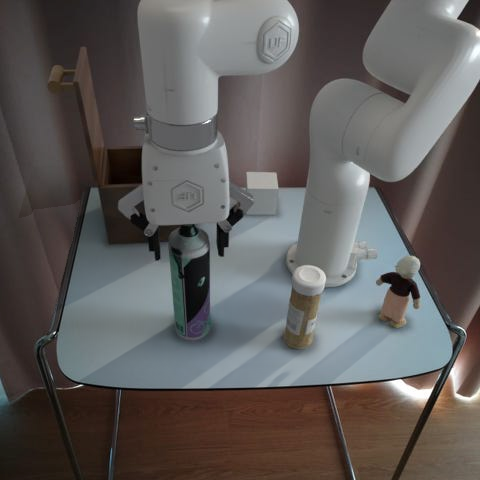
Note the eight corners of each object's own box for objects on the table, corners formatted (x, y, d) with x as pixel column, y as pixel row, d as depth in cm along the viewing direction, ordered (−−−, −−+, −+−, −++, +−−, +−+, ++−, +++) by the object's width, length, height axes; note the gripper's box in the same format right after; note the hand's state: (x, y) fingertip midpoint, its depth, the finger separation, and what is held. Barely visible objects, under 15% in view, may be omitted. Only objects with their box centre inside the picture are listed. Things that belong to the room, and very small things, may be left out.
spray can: (205, 343, 76) (203, 239, 61) (171, 337, 76) (160, 232, 62) (213, 318, 79) (214, 214, 65) (181, 312, 80) (173, 208, 65)
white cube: (246, 214, 99) (247, 188, 95) (245, 197, 103) (246, 171, 99) (276, 215, 99) (278, 188, 95) (273, 198, 103) (276, 172, 99)
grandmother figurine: (415, 320, 81) (441, 260, 71) (407, 334, 78) (433, 275, 69) (371, 301, 83) (390, 241, 74) (362, 315, 81) (381, 255, 72)
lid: (85, 46, 79) (51, 47, 78) (78, 81, 70) (39, 82, 69) (103, 144, 91) (74, 145, 91) (99, 185, 82) (66, 187, 81)
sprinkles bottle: (315, 347, 76) (331, 283, 66) (287, 352, 75) (298, 288, 65) (306, 326, 79) (319, 261, 69) (279, 330, 78) (288, 265, 68)
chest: (190, 198, 102) (187, 144, 93) (194, 239, 93) (192, 184, 84) (111, 201, 100) (102, 146, 91) (109, 244, 91) (97, 187, 82)
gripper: (99, 145, 50) (122, 274, 63) (267, 140, 52) (257, 266, 65) (103, 112, 55) (124, 238, 68) (256, 109, 57) (248, 231, 70)
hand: (189, 251), depth 66 cm, fingers open, 7 cm apart
